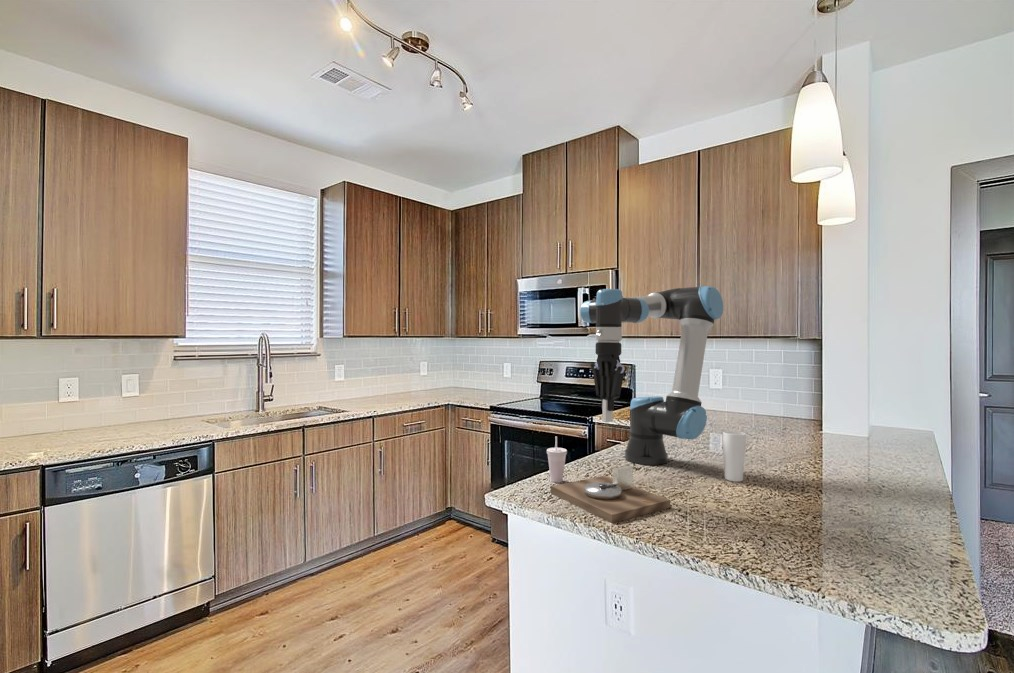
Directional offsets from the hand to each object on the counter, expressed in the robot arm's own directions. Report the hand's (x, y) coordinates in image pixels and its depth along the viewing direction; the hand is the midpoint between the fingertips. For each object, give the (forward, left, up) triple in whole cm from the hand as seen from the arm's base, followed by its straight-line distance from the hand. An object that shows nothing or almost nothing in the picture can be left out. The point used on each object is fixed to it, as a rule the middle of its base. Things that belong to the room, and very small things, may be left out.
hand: (607, 421), depth 142 cm
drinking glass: (-42, +13, -20) cm, 49 cm away
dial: (+5, +7, -18) cm, 20 cm away
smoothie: (+8, -14, -20) cm, 26 cm away
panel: (+6, +7, -20) cm, 22 cm away
